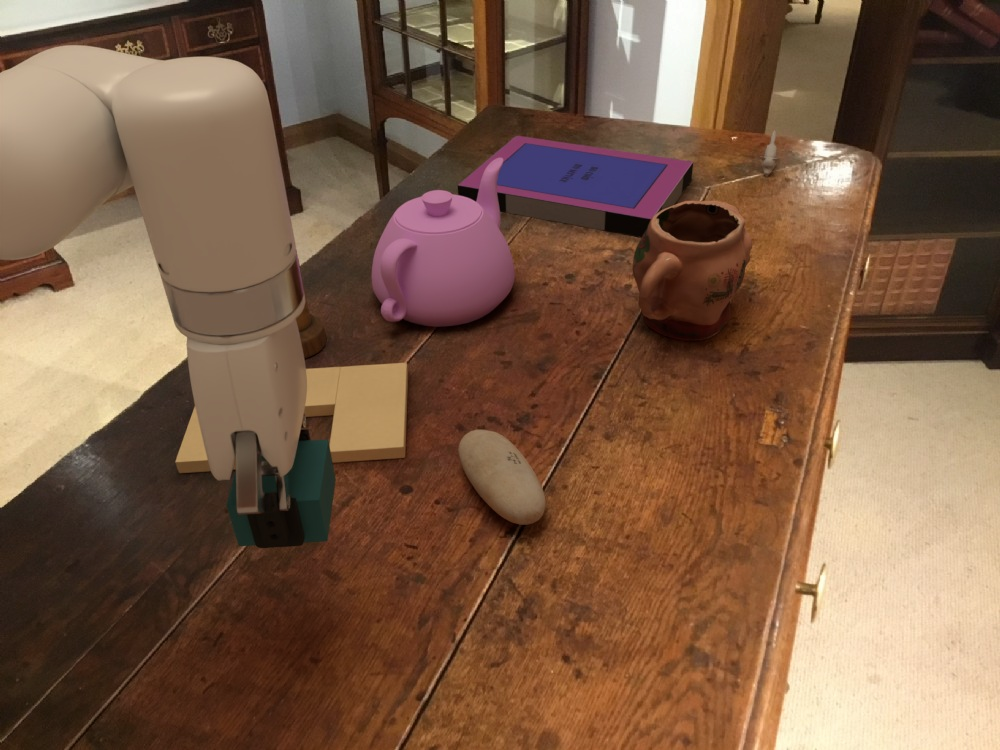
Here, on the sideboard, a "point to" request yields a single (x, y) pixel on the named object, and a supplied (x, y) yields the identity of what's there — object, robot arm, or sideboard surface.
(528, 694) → the sideboard surface
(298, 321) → the mortar and pestle
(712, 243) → the decorative planter
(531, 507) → the stone
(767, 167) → the dog figurine
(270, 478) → the teal block
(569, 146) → the book
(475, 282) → the teapot
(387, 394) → the tan u-shaped block
